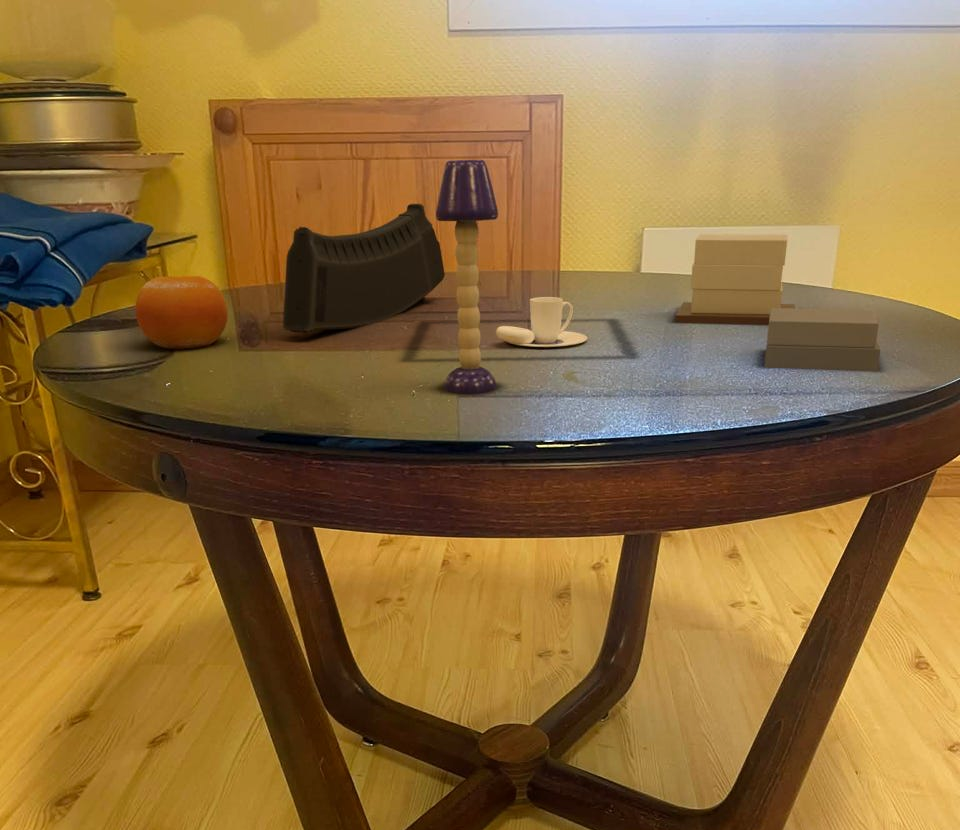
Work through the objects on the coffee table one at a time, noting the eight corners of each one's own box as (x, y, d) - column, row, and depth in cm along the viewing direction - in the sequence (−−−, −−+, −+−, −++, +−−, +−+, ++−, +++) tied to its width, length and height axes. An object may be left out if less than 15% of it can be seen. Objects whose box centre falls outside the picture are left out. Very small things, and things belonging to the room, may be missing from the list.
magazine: (288, 250, 93) (424, 140, 113) (258, 249, 95) (398, 140, 114) (331, 413, 105) (448, 288, 124) (305, 410, 106) (425, 287, 125)
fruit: (236, 299, 104) (189, 235, 98) (248, 343, 98) (199, 278, 92) (167, 340, 105) (116, 279, 99) (175, 386, 99) (122, 324, 93)
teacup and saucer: (495, 352, 94) (495, 306, 92) (497, 336, 101) (496, 294, 99) (589, 351, 94) (591, 305, 92) (584, 335, 101) (585, 292, 99)
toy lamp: (433, 387, 82) (424, 160, 75) (485, 380, 84) (481, 158, 76) (455, 399, 78) (448, 161, 71) (510, 392, 80) (509, 159, 72)
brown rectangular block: (870, 357, 89) (878, 309, 87) (876, 373, 83) (884, 323, 81) (765, 353, 91) (770, 307, 90) (764, 369, 85) (769, 321, 84)
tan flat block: (784, 258, 107) (787, 234, 106) (784, 265, 102) (787, 240, 101) (698, 258, 109) (700, 234, 108) (693, 264, 104) (695, 239, 103)
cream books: (793, 313, 110) (799, 257, 108) (793, 327, 103) (800, 267, 100) (682, 311, 113) (686, 256, 111) (674, 324, 106) (678, 266, 103)
